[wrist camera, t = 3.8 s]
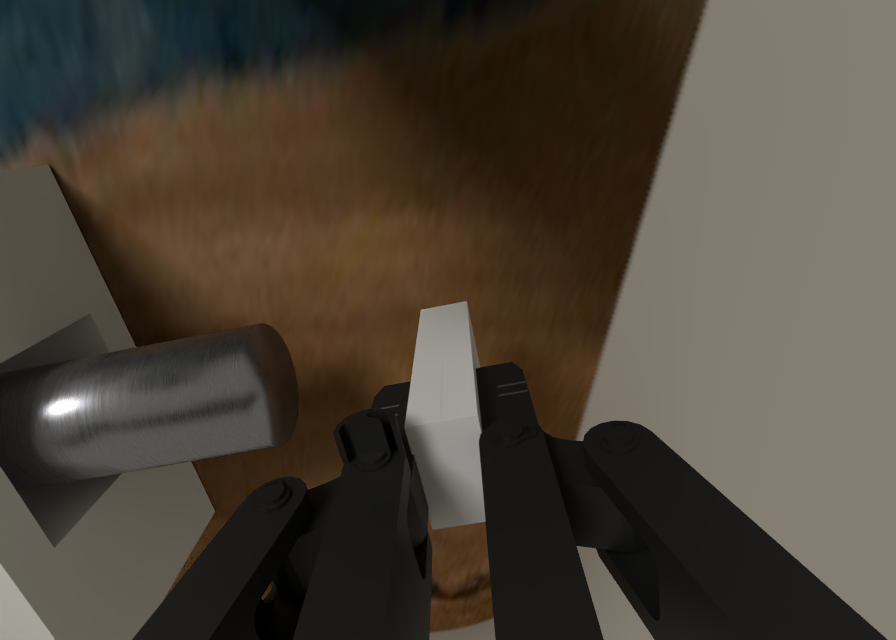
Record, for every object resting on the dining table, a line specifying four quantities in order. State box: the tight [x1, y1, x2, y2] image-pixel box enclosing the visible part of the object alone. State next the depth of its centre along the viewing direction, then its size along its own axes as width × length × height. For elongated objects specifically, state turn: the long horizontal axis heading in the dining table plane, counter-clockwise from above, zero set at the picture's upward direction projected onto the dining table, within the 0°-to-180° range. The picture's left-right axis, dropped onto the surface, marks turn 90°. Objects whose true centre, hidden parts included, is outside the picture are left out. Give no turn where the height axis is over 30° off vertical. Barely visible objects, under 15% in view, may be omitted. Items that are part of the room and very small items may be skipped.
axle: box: [0, 323, 298, 491], centre depth 17 cm, size 17×4×4 cm, turn 101°
